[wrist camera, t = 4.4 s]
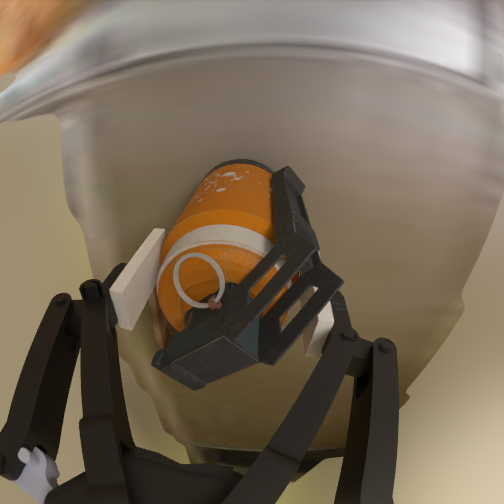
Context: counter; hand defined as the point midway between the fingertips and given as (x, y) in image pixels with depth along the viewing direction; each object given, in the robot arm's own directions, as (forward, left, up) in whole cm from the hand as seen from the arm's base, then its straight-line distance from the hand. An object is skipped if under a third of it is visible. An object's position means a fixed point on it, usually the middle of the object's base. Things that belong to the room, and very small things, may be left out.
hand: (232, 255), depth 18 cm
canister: (0, 0, -12) cm, 12 cm away
